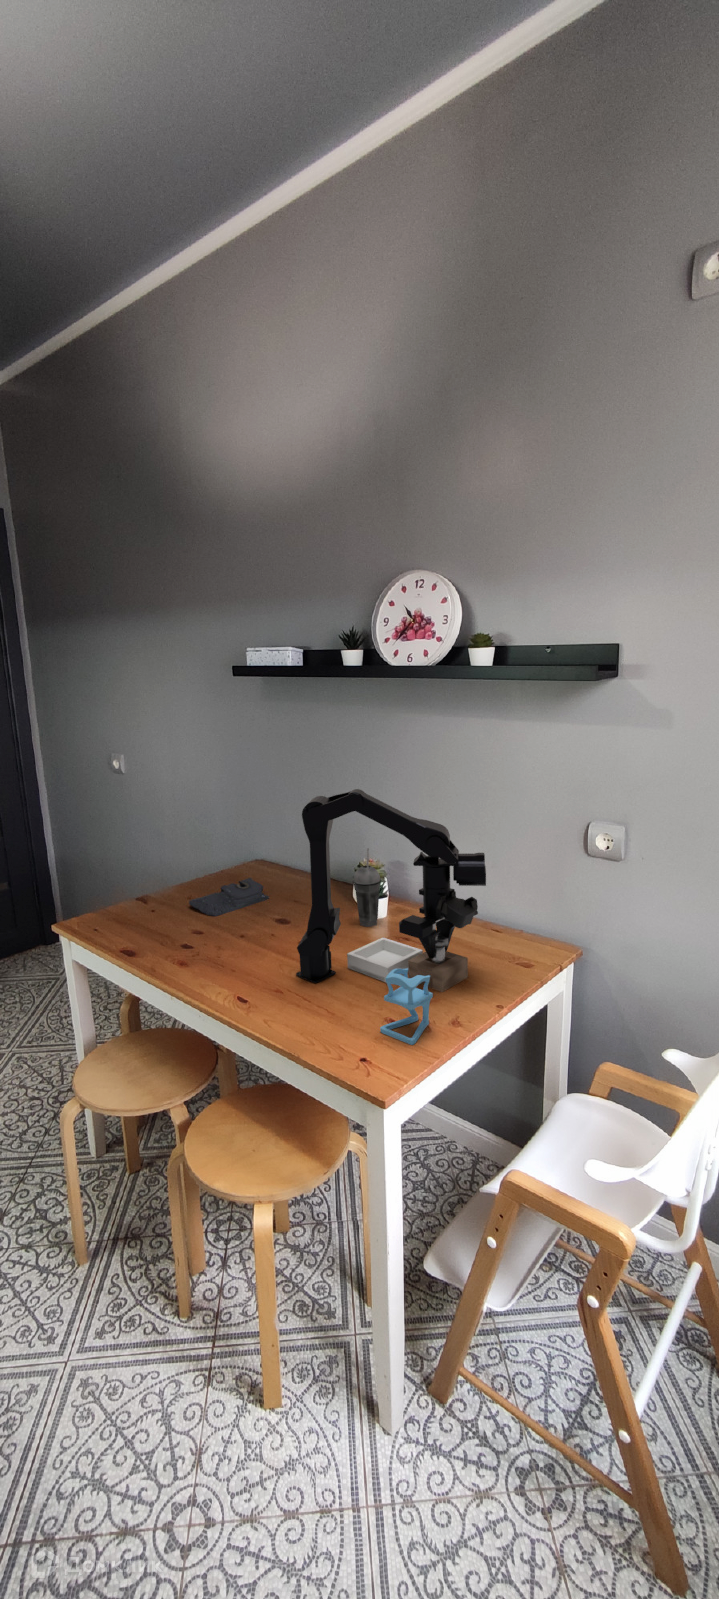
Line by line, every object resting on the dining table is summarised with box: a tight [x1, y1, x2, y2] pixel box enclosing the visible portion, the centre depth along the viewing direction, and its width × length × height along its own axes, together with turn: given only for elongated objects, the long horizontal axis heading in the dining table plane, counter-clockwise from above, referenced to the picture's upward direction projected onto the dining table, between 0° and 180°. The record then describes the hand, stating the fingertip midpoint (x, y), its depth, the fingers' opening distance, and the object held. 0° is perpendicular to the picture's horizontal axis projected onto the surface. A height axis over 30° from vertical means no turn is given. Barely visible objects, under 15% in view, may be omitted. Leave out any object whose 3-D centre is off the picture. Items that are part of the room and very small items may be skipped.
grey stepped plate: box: [188, 877, 270, 917], centre depth 212 cm, size 15×22×5 cm
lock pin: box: [431, 935, 448, 965], centre depth 157 cm, size 4×4×9 cm
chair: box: [379, 968, 434, 1046], centre depth 136 cm, size 8×8×12 cm
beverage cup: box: [352, 848, 382, 928], centre depth 189 cm, size 7×7×20 cm
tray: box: [346, 937, 424, 983], centre depth 164 cm, size 12×12×4 cm
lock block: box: [408, 950, 469, 993], centre depth 157 cm, size 9×9×4 cm
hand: (437, 954), depth 156 cm, fingers closed on lock pin, 4 cm apart
